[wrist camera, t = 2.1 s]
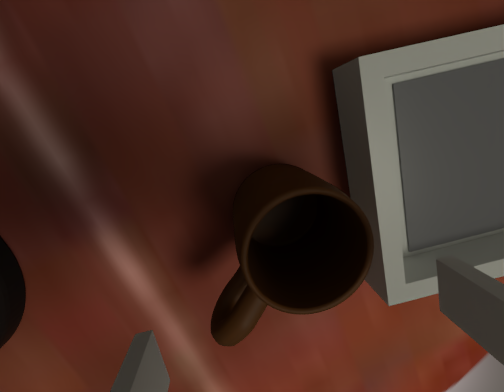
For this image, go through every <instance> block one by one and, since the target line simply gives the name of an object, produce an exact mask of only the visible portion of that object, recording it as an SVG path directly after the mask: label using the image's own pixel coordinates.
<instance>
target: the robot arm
mask: <svg viewBox="0 0 504 392" xmlns="http://www.w3.org/2000/svg"><path fill="white" fill-rule="evenodd" d="M436 266H437V279H438V292H439V305H440V311H441V312H442V313H443V314H445V315H446V316H447V317H448V318H449V319H450V320H451V321H453V322H454V323H455V324H456V325H457V326H458V327H460V328H461V329H462V330H463V331H464V332H465V333H467V334H468V335H469V336H470V337H471V338H472V339H474V340H475V341H476V342H477V343H478V344H479V345H481V346H482V347H483V348H484V349H485V350H486V351H488V352H489V353H490V354H491V355H493V356H494V357H495V358H496V359H497V360H498V361H499V362H500V363H502V364H503V365H504V284H502V283H501V282H499V281H497V280H495V279H494V278H492V277H490V276H488V275H487V274H485V273H483V272H481V271H480V270H478V269H476V268H474V267H472V266H471V265H469V264H467V263H465V262H464V261H462V260H460V259H458V258H457V257H455V256H453V255H449V256H445V257H441V258H437V259H436ZM24 307H25V286H24V281H23V276H22V273H21V270H20V268H19V266H18V263H17V261H16V259H15V257H14V256H13V254H12V253H11V251H10V250H9V248H8V247H7V245H6V244H5V243H4V242H3V241H2V239H1V238H0V348H1V347H2V346H3V345H4V344H5V343H6V342H7V341H8V340H9V339H10V338H11V336H12V335H13V334H14V332H15V331H16V329H17V327H18V326H19V323H20V321H21V319H22V316H23V312H24ZM169 383H170V378H169V375H168V373H167V370H166V367H165V364H164V361H163V359H162V356H161V353H160V350H159V347H158V344H157V342H156V339H155V336H154V333H153V330H150V331H146V332H142V333H138V334H135V336H134V338H133V341H132V343H131V345H130V347H129V350H128V352H127V354H126V357H125V359H124V361H123V363H122V366H121V368H120V370H119V373H118V375H117V377H116V379H115V382H114V384H113V386H112V389H111V391H110V392H168V387H169Z"/></svg>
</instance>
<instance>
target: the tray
mask: <svg viewBox="0 0 504 392" xmlns="http://www.w3.org/2000/svg"><path fill="white" fill-rule="evenodd" d="M332 72H333V79H334V86H335V93H336V100H337V107H338V114H339V121H340V128H341V134H342V141H343V148H344V155H345V162H346V169H347V176H348V183H349V190H350V197H351V199H352V200H353V201H354V202H355V203H356V204H357V205H358V206H359V207H360V208H361V209H362V210H363V212H364V213H365V215H366V217H367V218H368V220H369V223H370V225H371V228H372V233H373V239H374V254H373V259H372V263H371V266H370V269H369V271H368V273H367V275H366V277H365V279H364V280H365V281H366V282H367V283H368V284H369V285H370V286H371V287H372V288H373V290H374V291H375V292H376V293H377V294H378V295H379V296H380V297H381V298H382V299H383V300H384V301H385V303H386V304H387V305H388V306H391V305H395V304H399V303H403V302H406V301H410V300H414V299H418V298H422V297H425V296H429V295H433V294H437V293H439V292H438V279H437V266H436V259H437V258H441V257H445V256H449V255H453V256H455V257H457V258H458V259H460V260H462V261H464V262H465V263H467V264H469V265H471V266H472V267H474V268H476V269H478V270H480V271H481V272H483V273H485V274H487V275H488V276H490V277H492V278H498V277H502V276H504V24H503V25H499V26H494V27H490V28H485V29H481V30H476V31H472V32H467V33H463V34H459V35H454V36H450V37H445V38H441V39H436V40H432V41H427V42H423V43H419V44H414V45H410V46H405V47H401V48H396V49H392V50H387V51H383V52H379V53H374V54H370V55H365V56H361V57H358V58H356V59H354V60H352V61H350V62H348V63H346V64H344V65H342V66H340V67H338V68H336V69H334V70H332Z"/></svg>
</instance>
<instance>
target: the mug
mask: <svg viewBox="0 0 504 392" xmlns="http://www.w3.org/2000/svg"><path fill="white" fill-rule="evenodd" d="M233 223H234V235H235V244H236V251H237V256H238V260H239V263H240V267H239V268H238V270H237V272H236V273H235V274H234V276H233V277H232V278H231V280H230V281H229V282H228V284H227V285H226V287H225V288H224V290H223V291H222V293H221V295H220V297H219V299H218V301H217V303H216V305H215V308H214V311H213V314H212V319H211V334H212V336H213V338H214V339H215V341H216V342H217V343H218V344H219V345H223V346H234V345H236V344H237V343H239V342H240V341H242V340H243V339H244V338H245V337H246V336H247V335H248V334H249V333H250V332H251V331H252V330H253V328H254V327H255V325H256V324H257V322H258V320H259V318H260V317H261V315H262V313H263V312H264V310H265V308H266V307H267V305H269V306H271V307H272V308H275V309H277V310H279V311H282V312H286V313H291V314H313V313H318V312H322V311H325V310H328V309H330V308H332V307H335V306H337V305H338V304H340V303H342V302H343V301H345V300H346V299H347V298H348V297H350V296H351V295H352V294H353V293H354V292H355V291H356V290H357V289H358V287H359V286H360V285H361V284H362V282H363V280H364V279H365V277H366V275H367V273H368V271H369V269H370V266H371V263H372V259H373V254H374V239H373V233H372V228H371V225H370V223H369V220H368V218H367V217H366V215H365V213H364V212H363V210H362V209H361V208H360V207H359V206H358V205H357V204H356V203H355V202H354V201H353V200H352V199H351V198H349V197H348V196H347V195H346V194H345V193H344V192H342V191H341V190H339V189H338V188H337V187H335V186H333V185H332V184H330V183H328V182H326V181H324V180H322V179H320V178H319V177H317V176H315V175H313V174H311V173H309V172H307V171H305V170H303V169H301V168H298V167H296V166H292V165H287V164H274V165H269V166H266V167H263V168H261V169H259V170H257V171H255V172H254V173H252V174H251V175H250V176H249V177H247V178H246V179H245V181H244V182H243V183H242V184H241V186H240V187H239V189H238V191H237V193H236V196H235V199H234V203H233Z"/></svg>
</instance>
